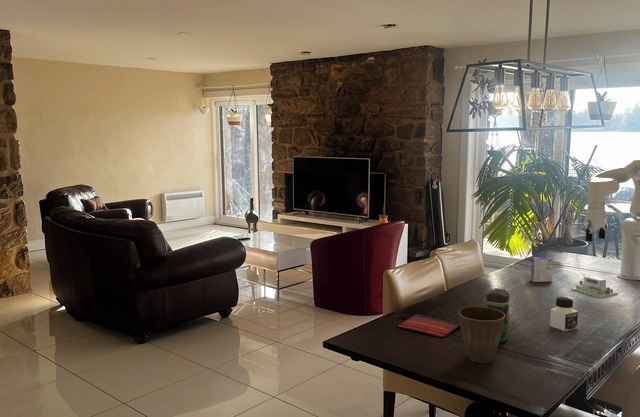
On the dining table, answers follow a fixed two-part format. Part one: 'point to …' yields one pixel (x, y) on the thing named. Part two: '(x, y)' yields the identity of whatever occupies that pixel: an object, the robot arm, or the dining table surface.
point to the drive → (594, 283)
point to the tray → (594, 291)
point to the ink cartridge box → (541, 268)
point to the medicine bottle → (564, 314)
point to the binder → (429, 326)
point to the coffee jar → (500, 307)
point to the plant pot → (481, 332)
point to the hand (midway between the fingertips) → (595, 239)
